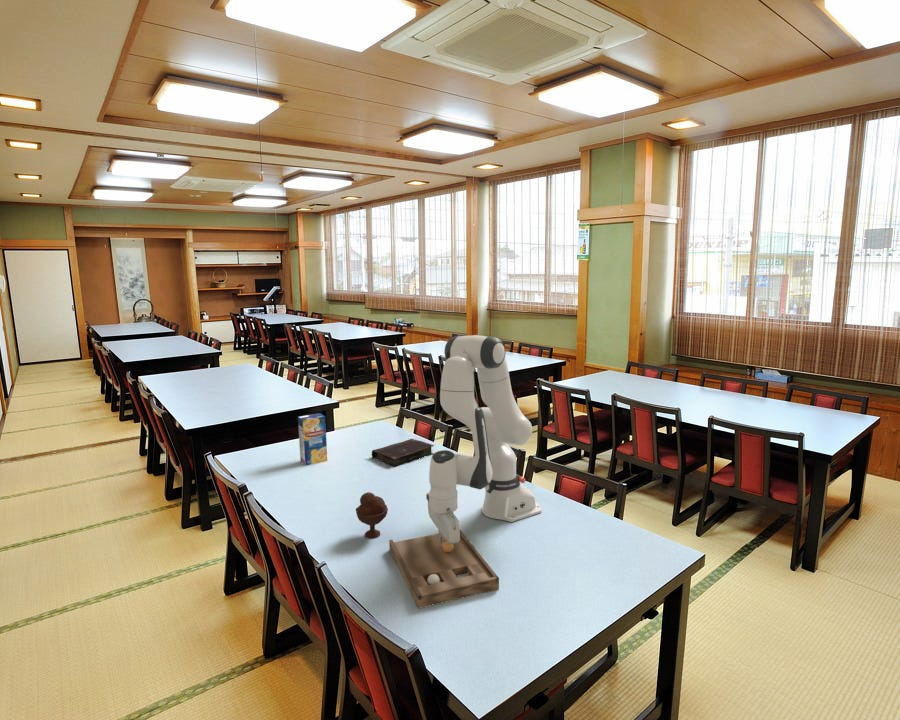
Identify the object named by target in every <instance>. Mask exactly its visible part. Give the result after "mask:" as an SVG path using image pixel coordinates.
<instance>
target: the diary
mask: <svg viewBox="0 0 900 720" xmlns="http://www.w3.org/2000/svg"><path fill="white" fill-rule="evenodd" d="M434 446H435V445H433V444H432V443H428V442H425V441H422V440H418V439H414V438H410V439H407V440H404V441H401V442H397V443H393V444H390V445H386V446H384V447H379V448H375V449H373V450H371V458H372V459H374V458H375V459H377V460H379V461H381V462H384V464H386V465H387V466H389V467H392V468H393V467H395V468H396V467H400V466H402V465H405V464H409V463H411V462H415V461H417V460H421V459H422V457H423V458H425V457H424V456H427V457H430V456H432V455H433V454H434V453H433V452H432V447H434ZM419 458H420V459H419Z"/></svg>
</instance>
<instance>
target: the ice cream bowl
mask: <svg viewBox="0 0 900 720" xmlns="http://www.w3.org/2000/svg"><path fill="white" fill-rule="evenodd" d="M359 502H360V505H358V506H357V507H356V508H355V513H356V517H357V519H358V520H359V521H360V522H361V523H363V524H364V525H367V526H369V530H367V531H365V533H364V537H365V538H367V539H369V540H370V539H371V540H372V539H373V540H374V539H377V538H379V537H380V536H381V531H380V530H377V529H376V525H378V524H379V523H381V522H382V521H383V520H384V519H385V518H386V517H387V514H388V511H389V508H388V505H387V504H386V502H385V500H384V499H383V498H382V497H381V496H378V495H375V494H374V493H373V492H364V493H363V494H362V495H361V496H360V499H359Z"/></svg>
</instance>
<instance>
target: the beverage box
mask: <svg viewBox="0 0 900 720" xmlns="http://www.w3.org/2000/svg"><path fill="white" fill-rule="evenodd" d="M326 422H327V421H326V416H325V415H324V414H322V413H320V412H318V413H314V414H307V415H302V416H301V415H300V416H297V423H298V425H297V427H298V440H299V443H298V444H299V456H300V458H299V459H300V462H301V463H302V464H303V465H304V466H311V465H314V464H319V463H324V462H328V447H327V445H328V444H327V427H326V426H327V425H326Z"/></svg>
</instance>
